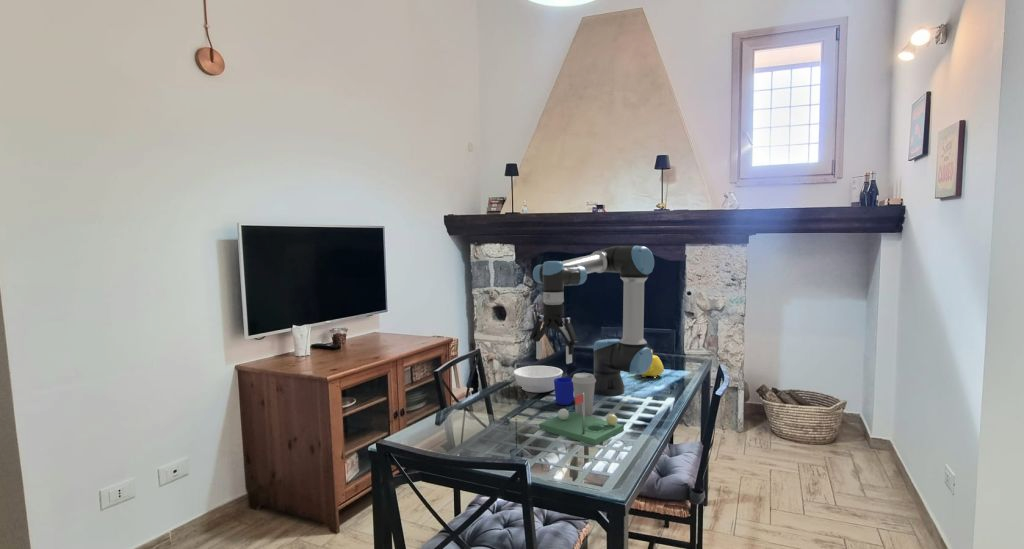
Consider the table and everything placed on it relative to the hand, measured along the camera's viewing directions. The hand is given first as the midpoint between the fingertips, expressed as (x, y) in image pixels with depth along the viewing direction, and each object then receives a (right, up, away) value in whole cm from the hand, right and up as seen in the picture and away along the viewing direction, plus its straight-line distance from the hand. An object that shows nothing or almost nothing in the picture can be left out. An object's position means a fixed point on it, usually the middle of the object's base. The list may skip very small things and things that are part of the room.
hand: (554, 360), depth 201 cm
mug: (+8, -22, +25) cm, 35 cm away
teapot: (+52, -19, +68) cm, 87 cm away
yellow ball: (+20, -20, -8) cm, 29 cm away
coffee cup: (+13, -23, +13) cm, 29 cm away
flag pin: (+8, -23, -16) cm, 29 cm away
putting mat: (+9, -24, -6) cm, 26 cm away
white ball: (+3, -20, -1) cm, 20 cm away
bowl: (-3, -21, +48) cm, 53 cm away
